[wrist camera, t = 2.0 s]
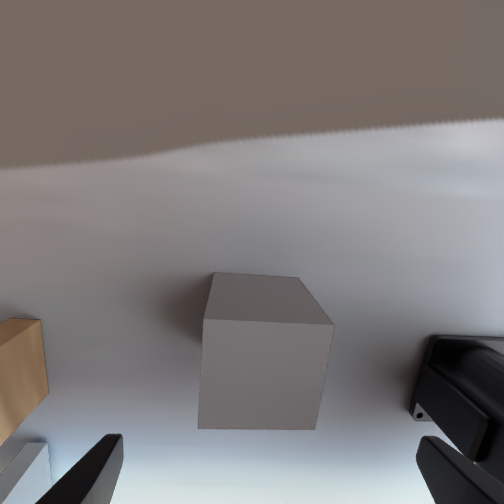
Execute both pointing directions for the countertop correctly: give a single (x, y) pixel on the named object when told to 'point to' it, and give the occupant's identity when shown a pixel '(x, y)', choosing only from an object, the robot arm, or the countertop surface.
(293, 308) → the block
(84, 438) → the countertop surface
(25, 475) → the door
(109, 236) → the countertop surface
